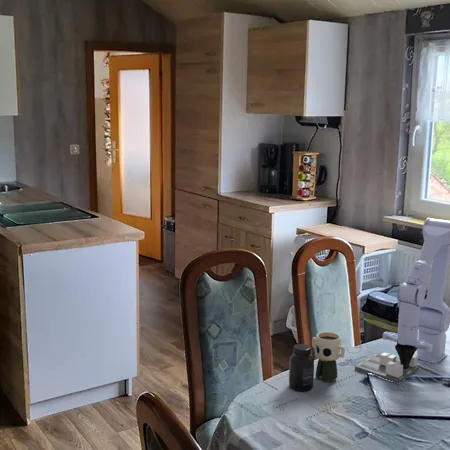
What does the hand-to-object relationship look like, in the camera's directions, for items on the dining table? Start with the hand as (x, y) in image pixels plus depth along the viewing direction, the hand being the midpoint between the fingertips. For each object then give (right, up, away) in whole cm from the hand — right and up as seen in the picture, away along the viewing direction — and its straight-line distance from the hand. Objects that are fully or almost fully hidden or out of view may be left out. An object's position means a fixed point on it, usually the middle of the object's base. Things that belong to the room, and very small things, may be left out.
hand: (404, 368), depth 181 cm
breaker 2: (+3, 0, +4) cm, 5 cm away
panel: (-4, -1, +4) cm, 6 cm away
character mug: (-24, -3, -3) cm, 24 cm away
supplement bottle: (-32, -4, -9) cm, 33 cm away
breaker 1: (-4, -1, -3) cm, 5 cm away
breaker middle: (-4, 0, +4) cm, 5 cm away
